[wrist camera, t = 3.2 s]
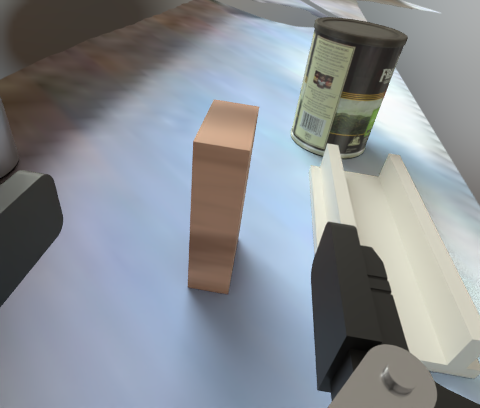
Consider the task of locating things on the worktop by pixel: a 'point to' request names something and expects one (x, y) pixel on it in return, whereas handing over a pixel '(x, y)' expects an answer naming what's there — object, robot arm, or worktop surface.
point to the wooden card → (219, 192)
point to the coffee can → (344, 84)
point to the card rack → (403, 258)
